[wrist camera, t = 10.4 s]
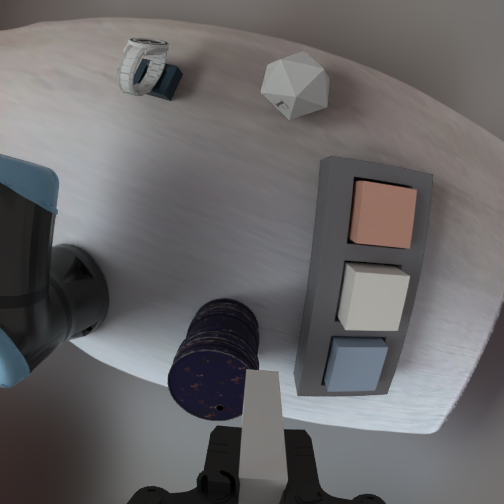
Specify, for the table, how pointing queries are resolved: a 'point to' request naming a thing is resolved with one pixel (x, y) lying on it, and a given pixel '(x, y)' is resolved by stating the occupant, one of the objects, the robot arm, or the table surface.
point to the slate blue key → (354, 363)
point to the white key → (371, 297)
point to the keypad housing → (342, 248)
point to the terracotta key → (381, 214)
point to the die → (296, 85)
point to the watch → (147, 69)
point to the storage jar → (215, 361)
